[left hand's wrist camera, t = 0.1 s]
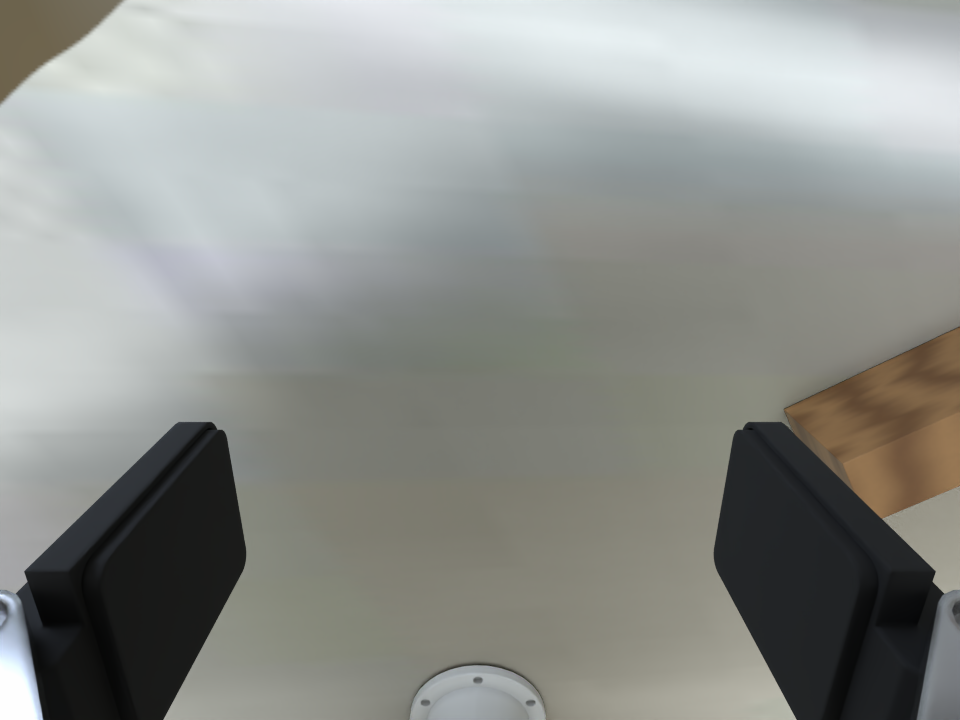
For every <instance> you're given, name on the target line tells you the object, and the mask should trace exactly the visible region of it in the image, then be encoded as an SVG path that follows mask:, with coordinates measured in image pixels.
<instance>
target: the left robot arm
mask: <svg viewBox="0 0 960 720" xmlns="http://www.w3.org/2000/svg"><path fill="white" fill-rule="evenodd" d="M245 562H246V546H245V541H244V535H243V529H242V523H241V517H240V512H239V506H238V500H237V494H236V488H235V482H234V477H233V471H232V465H231V459H230V453H229V448H228V442H227V437H226V434H225V432H224V431H223V430H217V428H216V426H215V425H214V424H213V423H212V422H178V423H177V424H175V425H174V426H173V427H172V428H171V429H170V430H169V431H168V432H167V433H166V434H165V435H164V436H163V437H162V438H161V439H160V440H159V441H158V442H157V443H156V444H155V445H154V446H153V447H152V448H151V449H150V450H149V451H148V452H147V453H146V454H144V455H143V456H142V457H141V458H140V459H139V460H138V461H137V462H136V463H135V464H134V465H133V466H132V467H131V468H130V469H129V470H128V471H127V472H126V473H125V474H124V475H123V476H122V477H121V478H120V479H119V480H118V481H117V482H116V483H115V484H114V485H113V486H112V487H111V488H110V489H109V490H107V491H106V492H105V493H104V494H103V495H102V496H101V497H100V498H99V499H98V500H97V501H96V502H95V503H94V504H93V505H92V506H91V507H90V508H89V509H88V510H87V511H86V512H85V513H84V514H83V515H82V516H81V517H80V518H79V519H78V520H77V521H76V522H75V523H74V524H73V525H72V526H70V527H69V528H68V529H67V530H66V531H65V532H64V533H63V534H62V535H61V536H60V537H59V538H58V539H57V540H56V541H55V542H54V543H53V544H52V545H51V546H50V547H49V548H48V549H47V550H46V551H45V552H44V553H43V554H42V555H41V556H40V557H39V558H38V559H37V560H36V561H35V562H33V563H32V564H31V565H30V566H29V567H28V568H27V569H26V570H25V571H24V572H25V575H26V578H27V581H28V582H27V583H26V584H25V585H24V586H23V587H22V588H21V589H20V590H19V591H18V592H17V593H16V594H14V593H12V592H10V591H7V590H0V720H163V719H164V717H165V715H166V714H167V712H168V710H169V708H170V706H171V704H172V702H173V701H174V699H175V697H176V695H177V693H178V691H179V689H180V687H181V686H182V684H183V682H184V680H185V678H186V676H187V674H188V672H189V671H190V669H191V667H192V665H193V663H194V661H195V659H196V658H197V656H198V654H199V652H200V650H201V648H202V646H203V644H204V643H205V641H206V639H207V637H208V635H209V633H210V631H211V630H212V628H213V626H214V624H215V622H216V620H217V618H218V616H219V615H220V613H221V611H222V609H223V607H224V605H225V603H226V602H227V600H228V598H229V596H230V594H231V592H232V590H233V588H234V587H235V585H236V583H237V581H238V579H239V577H240V575H241V573H242V572H243V569H244V566H245ZM714 562H715V566H716V569H717V572H718V573H719V575H720V577H721V579H722V581H723V583H724V585H725V587H726V588H727V590H728V592H729V594H730V596H731V598H732V600H733V602H734V603H735V605H736V607H737V609H738V611H739V613H740V615H741V616H742V618H743V620H744V622H745V624H746V626H747V628H748V630H749V631H750V633H751V635H752V637H753V639H754V641H755V643H756V644H757V646H758V648H759V650H760V652H761V654H762V656H763V658H764V659H765V661H766V663H767V665H768V667H769V669H770V671H771V672H772V674H773V676H774V678H775V680H776V682H777V684H778V686H779V687H780V689H781V691H782V693H783V695H784V697H785V699H786V701H787V702H788V704H789V706H790V708H791V710H792V712H793V714H794V715H795V717H796V719H797V720H960V590H953V591H950V592H948V593H946V594H944V593H943V592H942V591H941V590H940V589H939V588H938V587H937V586H936V585H935V584H934V583H933V582H932V581H933V578H934V575H935V572H936V571H935V570H934V569H933V568H932V567H931V566H930V565H929V564H928V563H927V562H925V561H924V560H923V559H922V558H921V557H920V556H919V555H918V554H917V553H916V552H915V551H914V550H913V549H912V548H911V547H910V546H909V545H908V544H907V543H906V542H905V541H904V540H903V539H902V538H901V537H900V536H899V535H898V534H897V533H896V532H895V531H894V530H893V529H892V528H891V527H890V526H888V525H887V524H886V523H885V522H884V521H883V520H882V519H881V518H880V517H879V516H878V515H877V514H876V513H875V512H874V511H873V510H872V509H871V508H870V507H869V506H868V505H867V504H866V503H865V502H864V501H863V500H862V499H861V498H860V497H859V496H858V495H857V494H856V493H855V492H854V491H853V490H851V489H850V488H849V487H848V486H847V485H846V484H845V483H844V482H843V481H842V480H841V479H840V478H839V477H838V476H837V475H836V474H835V473H834V472H833V471H832V470H831V469H830V468H829V467H828V466H827V465H826V464H825V463H824V462H823V461H822V460H821V459H820V458H819V457H818V456H817V455H816V454H814V453H813V452H812V451H811V450H810V449H809V448H808V447H807V446H806V445H805V444H804V443H803V442H802V441H801V440H800V439H799V438H798V437H797V436H796V435H795V434H794V433H793V432H792V431H791V430H790V429H789V428H788V427H787V426H786V425H785V424H783V423H782V422H748V423H747V424H746V425H745V426H744V428H743V430H737V431H736V432H735V434H734V437H733V442H732V448H731V453H730V459H729V465H728V471H727V477H726V482H725V488H724V494H723V500H722V506H721V512H720V517H719V523H718V529H717V535H716V541H715V546H714ZM410 720H546V714H545V707H544V703H543V700H542V698H541V696H540V694H539V693H538V691H537V690H536V689H535V688H534V687H533V685H532V684H530V683H529V682H528V681H527V680H525V679H524V678H523V677H521V676H519V675H517V674H515V673H513V672H511V671H508V670H505V669H502V668H498V667H492V666H483V665H472V666H462V667H458V668H454V669H450V670H448V671H445V672H443V673H441V674H438V675H437V676H435V677H434V678H432V679H431V680H429V681H428V682H427V683H426V684H425V685H424V686H422V687H421V688H420V690H419V691H418V693H417V694H416V696H415V697H414V700H413V703H412V706H411V713H410Z"/></svg>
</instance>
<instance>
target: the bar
mask: <svg viewBox="0 0 960 720" xmlns="http://www.w3.org/2000/svg"><path fill="white" fill-rule="evenodd" d="M784 411H785V413H786V416H787V418H788V420H789V423H790V425H791V427H792V430H793V432H794V434H795V435H796V436H797V437H798V438H799V439H800V440H801V441H802V442H803V443H804V444H805V445H806V446H807V447H808V448H809V449H810V450H811V451H812V452H813V453H814V454H816V455H817V456H818V457H819V458H820V459H821V460H822V461H823V462H824V463H825V464H826V465H827V466H828V467H829V468H830V469H831V470H832V471H833V472H834V473H835V474H836V475H837V476H838V477H839V478H840V479H841V480H842V481H843V482H844V483H845V484H846V485H847V486H848V487H849V488H850V489H851V490H853V491H854V492H855V493H856V494H857V495H858V496H859V497H860V498H861V499H862V500H863V501H864V502H865V503H866V504H867V505H868V506H869V507H870V508H871V509H872V510H873V511H874V512H875V513H876V514H877V515H878V516H879V517H880V518H881V519H882V518H884V517H887V516H889V515H892V514H894V513H896V512H899V511H901V510H903V509H906V508H908V507H911V506H913V505H915V504H918V503H920V502H922V501H925V500H927V499H930V498H932V497H934V496H937V495H939V494H941V493H944V492H946V491H948V490H951V489H953V488H956V487H958V486H960V327H958V328H956V329H954V330H952V331H950V332H948V333H946V334H944V335H941V336H939V337H937V338H935V339H933V340H931V341H929V342H926V343H924V344H922V345H920V346H918V347H916V348H914V349H912V350H909V351H907V352H905V353H903V354H901V355H899V356H897V357H894V358H892V359H890V360H888V361H886V362H884V363H882V364H880V365H877V366H875V367H873V368H871V369H869V370H867V371H865V372H862V373H860V374H858V375H856V376H854V377H852V378H850V379H847V380H845V381H843V382H841V383H839V384H837V385H835V386H833V387H830V388H828V389H826V390H824V391H822V392H820V393H818V394H815V395H813V396H811V397H809V398H807V399H805V400H803V401H801V402H798V403H796V404H794V405H792V406H790V407H788V408H786V409H784Z"/></svg>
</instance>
